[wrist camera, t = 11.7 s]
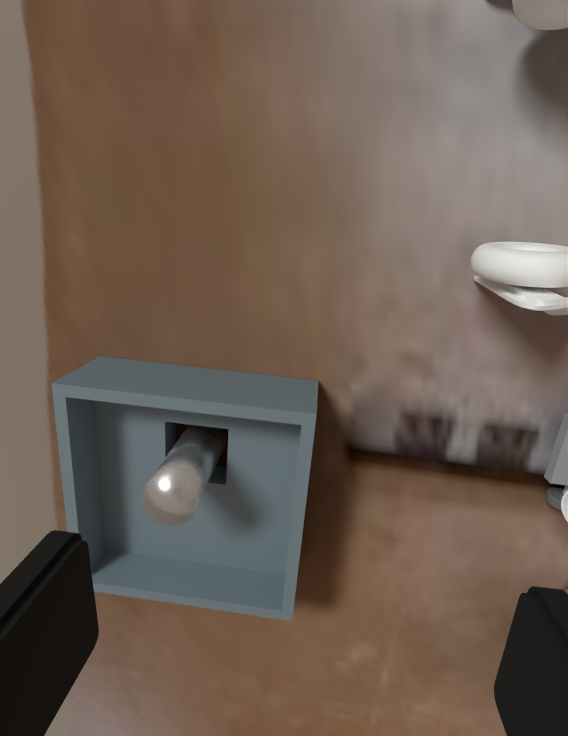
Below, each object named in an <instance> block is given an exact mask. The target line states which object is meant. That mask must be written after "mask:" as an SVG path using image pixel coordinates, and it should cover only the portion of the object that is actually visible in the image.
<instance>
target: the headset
mask: <svg viewBox="0 0 568 736" xmlns="http://www.w3.org/2000/svg"><path fill="white" fill-rule="evenodd" d="M512 4H513V11H514V13H515V16H516V18H517V19H518V20H519V21H520V22H521V23H522V24H523V25H525V26H527V27H530V28H533V29H539V30H558V29H565V28H568V0H512ZM471 267H472V270H473V271H474V273H475V274H476V275H478V276H474V280H475V281H476V282H478V283H479V284H481V285H482V286H484V287H486V288H487V289H489V290H491V291H492V292H494V293H496V294H497V295H499V296H501V297H502V298H504V299H505V300H507V301H509V302H511V303H513V304H515V305H517V306H519V307H522V308H526V309H531V310H537V311H544V312H545V313H547V314H549V315H568V297H566V298H564V297H562V296H560V295H558V294H556V293H553V292H551V291H549V290H547V289H544V288H556V287H568V247H566V246H560V245H552V244H542V243H528V242H493V243H486V244H483V245H481V246H479V247H478V248H477V249H476V250H475V251H474V253H473V255H472V258H471ZM542 287H543V288H542Z"/></svg>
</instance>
